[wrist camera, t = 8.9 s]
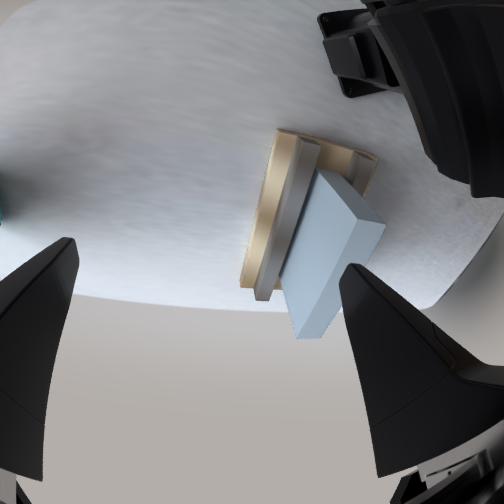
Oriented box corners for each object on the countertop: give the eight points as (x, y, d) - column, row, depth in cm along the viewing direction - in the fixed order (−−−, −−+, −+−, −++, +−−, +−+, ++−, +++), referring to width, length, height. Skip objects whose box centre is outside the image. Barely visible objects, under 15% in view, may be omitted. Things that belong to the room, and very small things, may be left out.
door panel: (314, 167, 18) (357, 218, 13) (338, 172, 19) (386, 224, 13) (278, 273, 24) (296, 338, 19) (298, 274, 25) (320, 338, 19)
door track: (276, 128, 17) (285, 137, 15) (372, 154, 19) (389, 166, 17) (239, 280, 25) (242, 299, 23) (317, 284, 27) (324, 302, 25)
